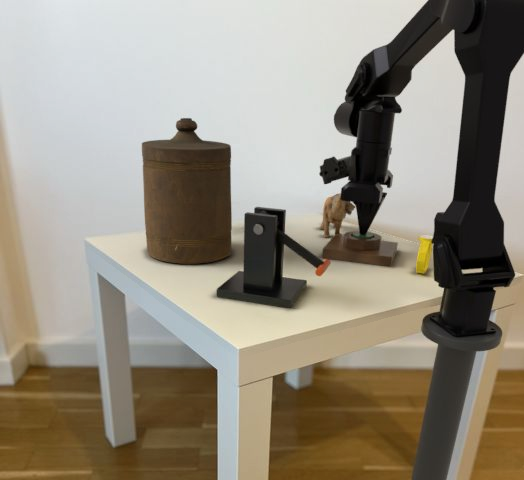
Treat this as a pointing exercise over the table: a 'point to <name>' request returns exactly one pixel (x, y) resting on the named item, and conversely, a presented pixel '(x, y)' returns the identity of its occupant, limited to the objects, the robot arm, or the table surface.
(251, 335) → the table surface
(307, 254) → the lever
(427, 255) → the watch
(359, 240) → the button box
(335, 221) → the lion figurine
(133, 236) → the table surface
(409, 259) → the table surface
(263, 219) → the bracket
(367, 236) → the button
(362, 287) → the table surface
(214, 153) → the wooden container
